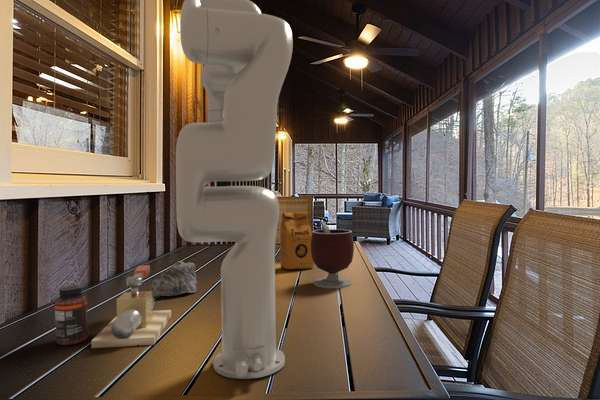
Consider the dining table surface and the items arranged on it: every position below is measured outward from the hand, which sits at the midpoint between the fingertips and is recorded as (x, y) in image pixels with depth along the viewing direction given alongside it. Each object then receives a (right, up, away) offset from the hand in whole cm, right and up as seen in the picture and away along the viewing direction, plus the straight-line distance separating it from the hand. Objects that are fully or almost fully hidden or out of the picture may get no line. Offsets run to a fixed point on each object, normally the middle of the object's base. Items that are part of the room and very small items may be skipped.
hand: (223, 189), depth 110 cm
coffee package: (+19, -30, +52) cm, 63 cm away
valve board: (-16, -32, -17) cm, 40 cm away
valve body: (-16, -30, -17) cm, 39 cm away
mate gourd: (+30, -30, +26) cm, 50 cm away
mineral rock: (-17, -31, +14) cm, 38 cm away
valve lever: (-18, -22, -11) cm, 30 cm away
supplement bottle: (-27, -32, -23) cm, 48 cm away
